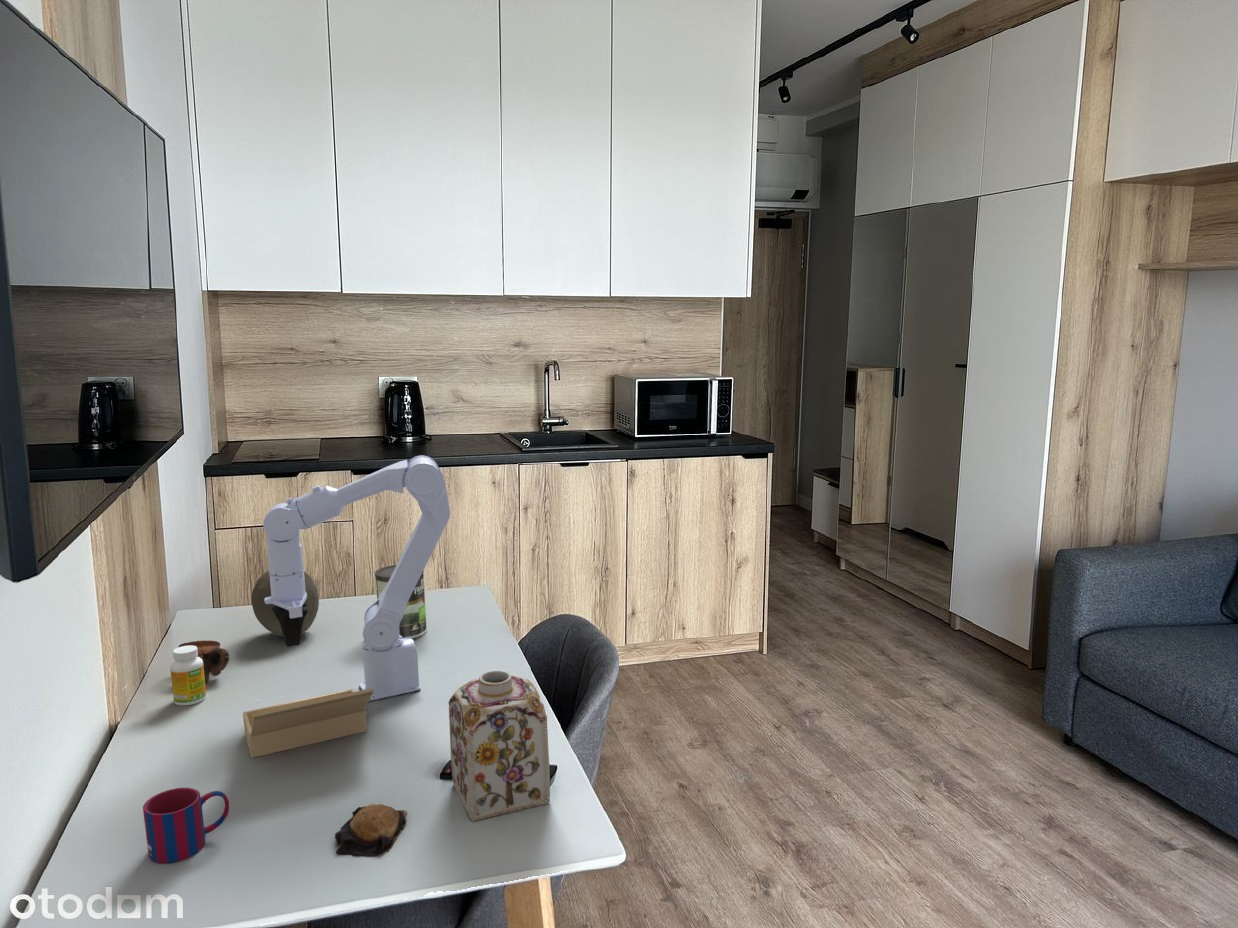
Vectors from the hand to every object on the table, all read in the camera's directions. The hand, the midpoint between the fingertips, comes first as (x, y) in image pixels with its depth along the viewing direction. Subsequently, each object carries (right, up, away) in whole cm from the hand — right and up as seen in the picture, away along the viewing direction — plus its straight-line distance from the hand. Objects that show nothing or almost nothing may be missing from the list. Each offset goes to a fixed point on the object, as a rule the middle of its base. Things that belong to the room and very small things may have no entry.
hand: (292, 644), depth 160 cm
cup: (+2, -18, -42) cm, 46 cm away
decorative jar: (+41, -16, -31) cm, 54 cm away
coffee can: (+11, -5, +35) cm, 37 cm away
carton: (+6, -12, -11) cm, 18 cm away
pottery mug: (-22, -9, +13) cm, 27 cm away
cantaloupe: (-14, -5, +35) cm, 38 cm away
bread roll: (+25, -18, -40) cm, 50 cm away
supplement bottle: (-20, -11, +2) cm, 22 cm away
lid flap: (+10, -6, -19) cm, 23 cm away
